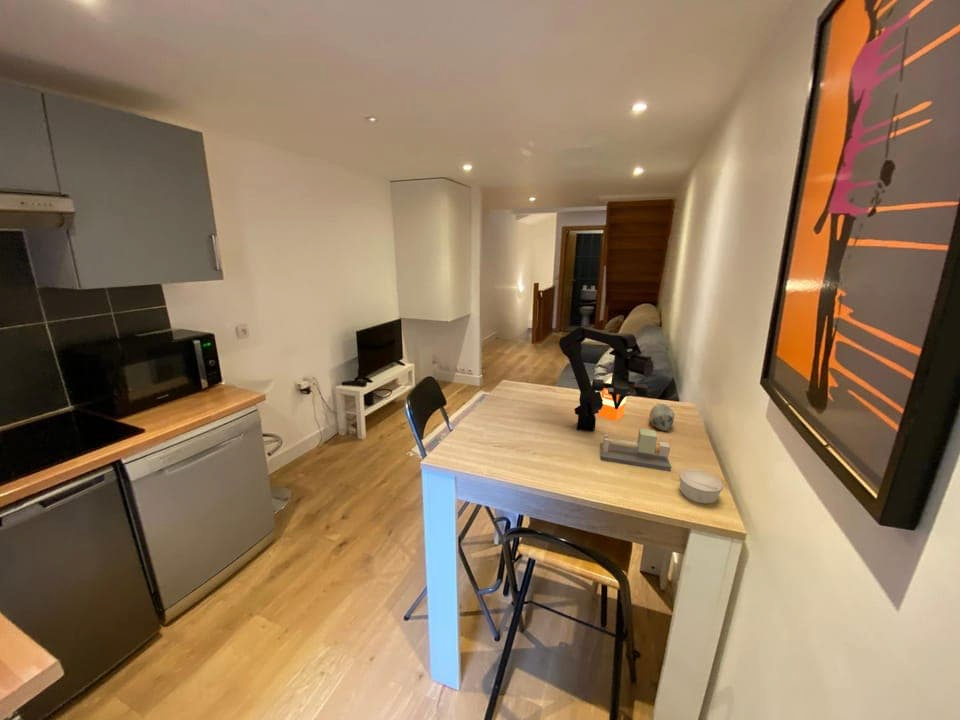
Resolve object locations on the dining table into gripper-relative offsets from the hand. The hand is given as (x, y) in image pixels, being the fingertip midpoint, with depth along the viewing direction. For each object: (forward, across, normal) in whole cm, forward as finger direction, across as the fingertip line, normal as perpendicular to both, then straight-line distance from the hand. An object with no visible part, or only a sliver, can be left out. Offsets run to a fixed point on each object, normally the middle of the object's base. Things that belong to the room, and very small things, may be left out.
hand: (616, 408), depth 139 cm
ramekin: (+13, +23, -27) cm, 38 cm away
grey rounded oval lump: (+13, +20, +20) cm, 31 cm away
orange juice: (+13, +1, +24) cm, 27 cm away
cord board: (+13, +6, -11) cm, 18 cm away
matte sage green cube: (+9, +10, -11) cm, 17 cm away
